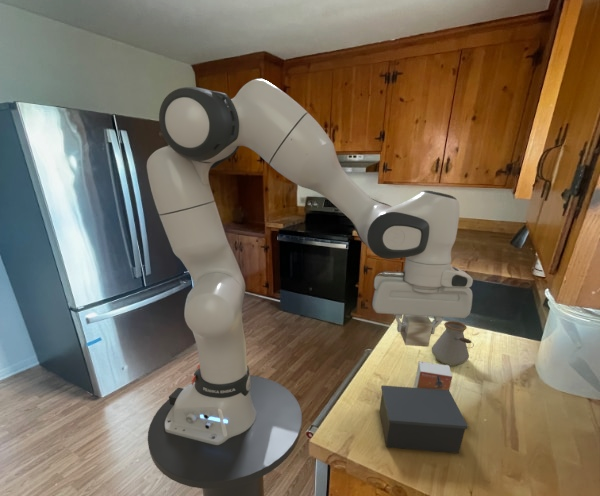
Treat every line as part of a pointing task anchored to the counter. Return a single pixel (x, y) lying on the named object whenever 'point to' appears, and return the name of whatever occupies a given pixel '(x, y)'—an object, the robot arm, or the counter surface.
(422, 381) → the small box
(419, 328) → the beige cube block
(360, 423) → the counter surface
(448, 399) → the storage box
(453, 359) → the coffee pot
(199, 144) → the robot arm
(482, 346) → the counter surface
